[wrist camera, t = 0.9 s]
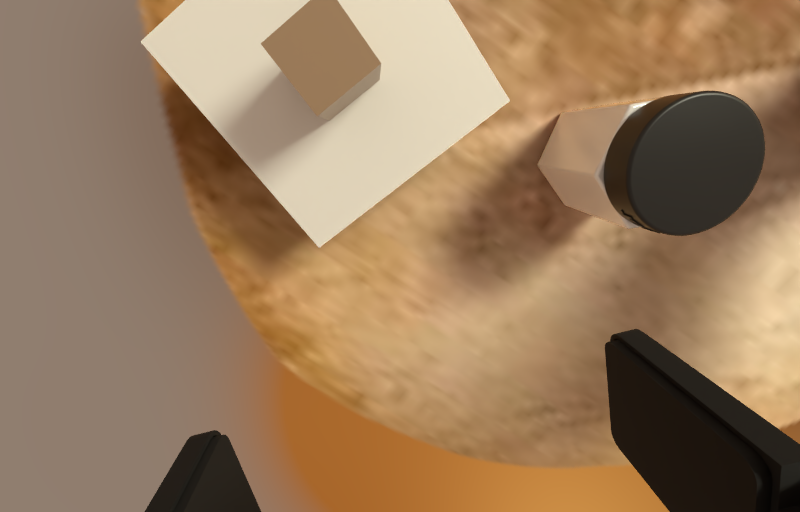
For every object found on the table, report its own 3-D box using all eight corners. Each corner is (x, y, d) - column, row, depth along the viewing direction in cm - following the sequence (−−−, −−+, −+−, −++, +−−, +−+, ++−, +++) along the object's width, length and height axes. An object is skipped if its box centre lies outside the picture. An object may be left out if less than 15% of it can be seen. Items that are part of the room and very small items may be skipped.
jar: (539, 212, 35) (619, 249, 24) (533, 115, 33) (620, 105, 21) (637, 194, 35) (765, 223, 24) (639, 97, 33) (783, 77, 21)
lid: (354, -141, 22) (345, -262, 16) (504, 102, 27) (549, 91, 20) (151, 45, 24) (64, 11, 18) (321, 243, 29) (304, 277, 22)
